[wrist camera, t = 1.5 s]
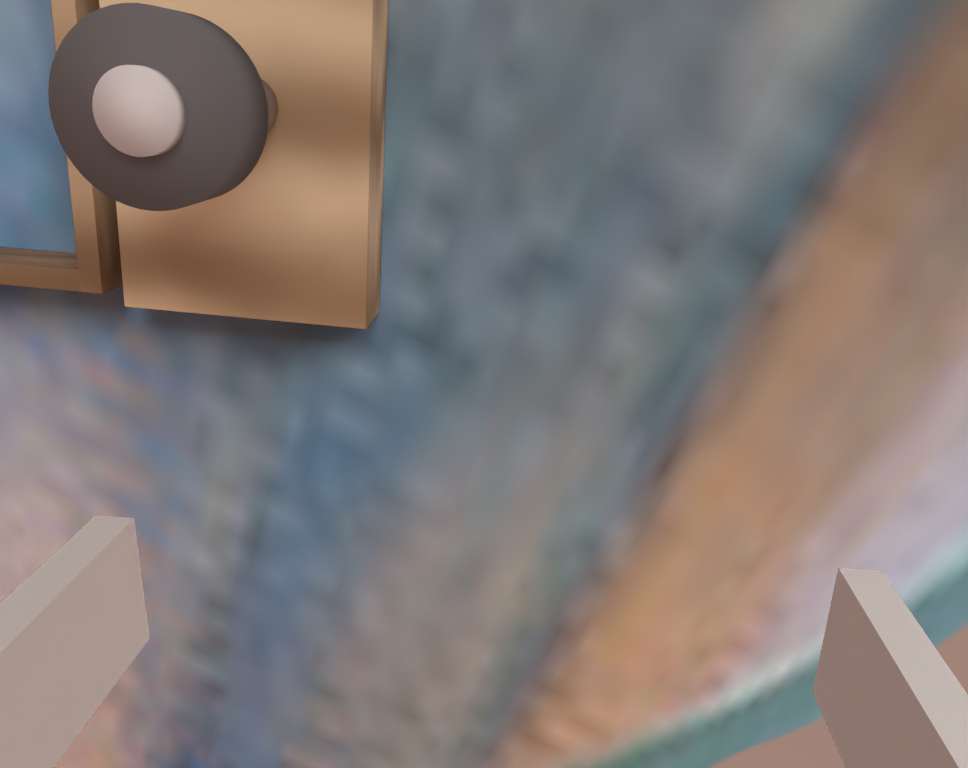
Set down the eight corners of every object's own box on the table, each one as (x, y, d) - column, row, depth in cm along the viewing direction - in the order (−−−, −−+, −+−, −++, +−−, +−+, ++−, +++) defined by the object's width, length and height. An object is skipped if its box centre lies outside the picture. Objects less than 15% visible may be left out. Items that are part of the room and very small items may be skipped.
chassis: (-143, -156, 34) (-292, -209, 28) (391, -122, 32) (355, -170, 27) (-72, 270, 40) (-181, 301, 34) (379, 311, 39) (347, 351, 33)
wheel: (84, 4, 26) (25, -7, 23) (266, 17, 26) (229, 7, 23) (101, 193, 28) (48, 205, 25) (270, 208, 28) (236, 221, 25)
